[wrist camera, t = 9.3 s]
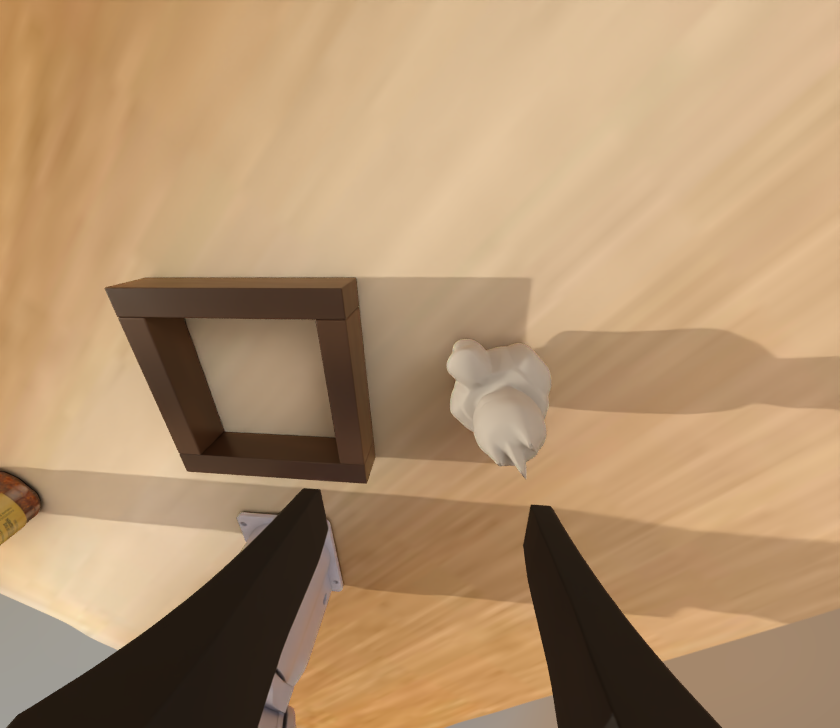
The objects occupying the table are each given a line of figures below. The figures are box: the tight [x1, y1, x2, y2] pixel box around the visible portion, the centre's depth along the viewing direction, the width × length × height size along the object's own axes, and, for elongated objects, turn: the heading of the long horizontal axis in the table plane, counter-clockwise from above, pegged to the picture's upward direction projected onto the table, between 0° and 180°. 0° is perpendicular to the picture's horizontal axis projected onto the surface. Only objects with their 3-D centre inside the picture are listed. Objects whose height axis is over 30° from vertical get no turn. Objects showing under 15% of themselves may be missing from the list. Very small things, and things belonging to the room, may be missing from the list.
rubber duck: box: [447, 339, 551, 479], centre depth 16 cm, size 5×7×8 cm
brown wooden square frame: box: [105, 278, 375, 484], centre depth 20 cm, size 13×13×2 cm
